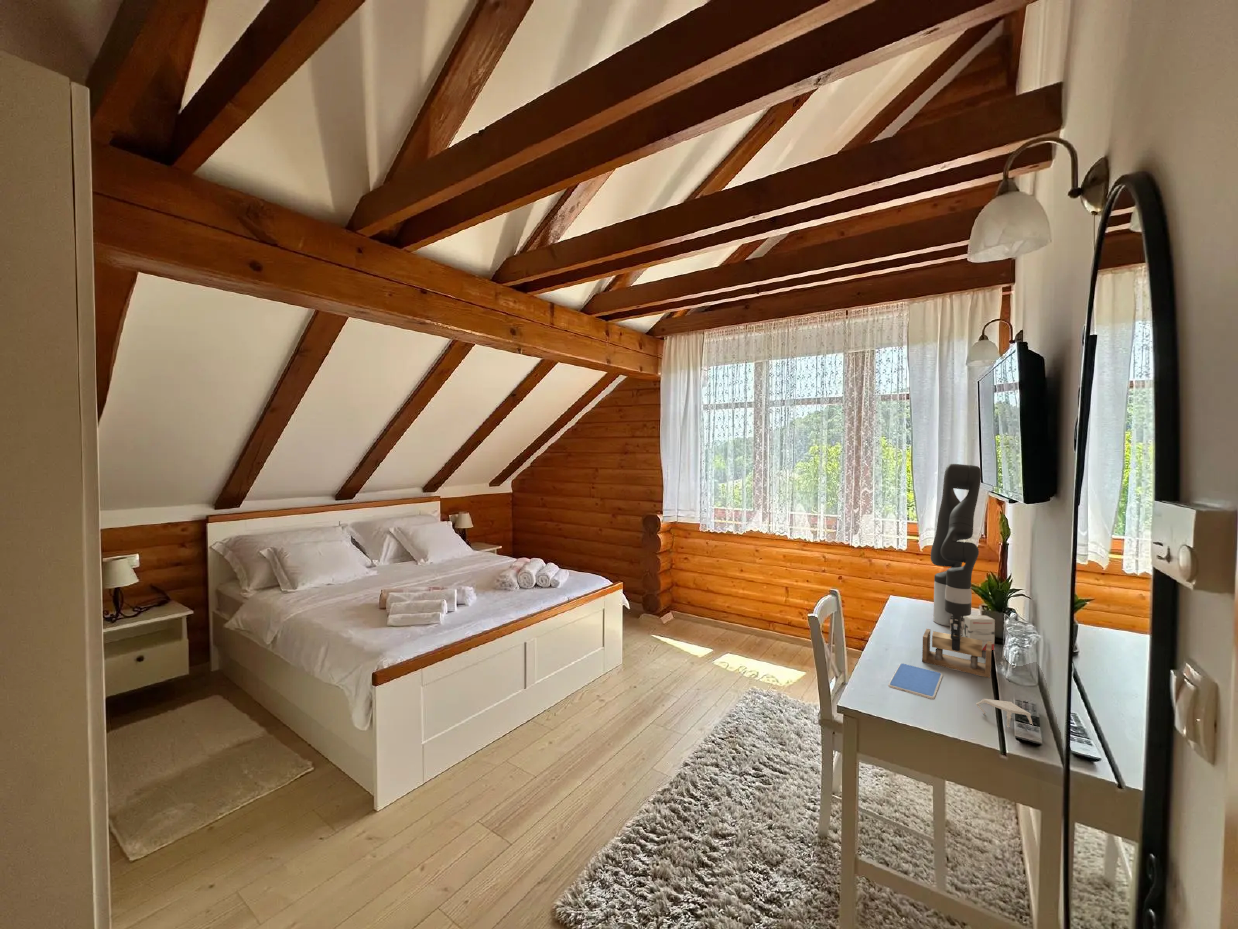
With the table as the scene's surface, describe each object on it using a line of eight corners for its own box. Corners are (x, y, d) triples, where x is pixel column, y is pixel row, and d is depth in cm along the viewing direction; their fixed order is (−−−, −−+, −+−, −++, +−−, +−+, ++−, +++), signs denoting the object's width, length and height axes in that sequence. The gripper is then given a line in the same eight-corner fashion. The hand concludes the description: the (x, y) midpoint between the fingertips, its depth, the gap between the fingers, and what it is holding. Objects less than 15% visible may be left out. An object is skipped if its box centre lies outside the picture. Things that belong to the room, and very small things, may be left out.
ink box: (986, 645, 185) (987, 614, 184) (994, 651, 180) (995, 619, 179) (961, 644, 186) (962, 614, 185) (969, 650, 181) (970, 619, 180)
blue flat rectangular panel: (933, 701, 148) (934, 697, 148) (887, 688, 156) (887, 684, 156) (942, 677, 163) (943, 673, 162) (899, 666, 171) (899, 662, 171)
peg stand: (925, 652, 179) (926, 628, 179) (991, 667, 167) (991, 642, 167) (922, 661, 172) (922, 636, 172) (989, 678, 160) (990, 651, 160)
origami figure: (1027, 719, 137) (1028, 702, 137) (1033, 735, 130) (1034, 717, 130) (974, 707, 143) (975, 691, 143) (977, 721, 136) (977, 704, 136)
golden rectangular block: (981, 652, 167) (982, 640, 167) (981, 657, 163) (982, 645, 163) (933, 642, 176) (933, 631, 175) (931, 647, 172) (932, 635, 171)
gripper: (969, 607, 161) (968, 658, 162) (973, 595, 172) (971, 643, 173) (942, 602, 165) (941, 651, 166) (947, 591, 176) (946, 638, 177)
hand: (956, 647), depth 169 cm, fingers closed on golden rectangular block, 5 cm apart
